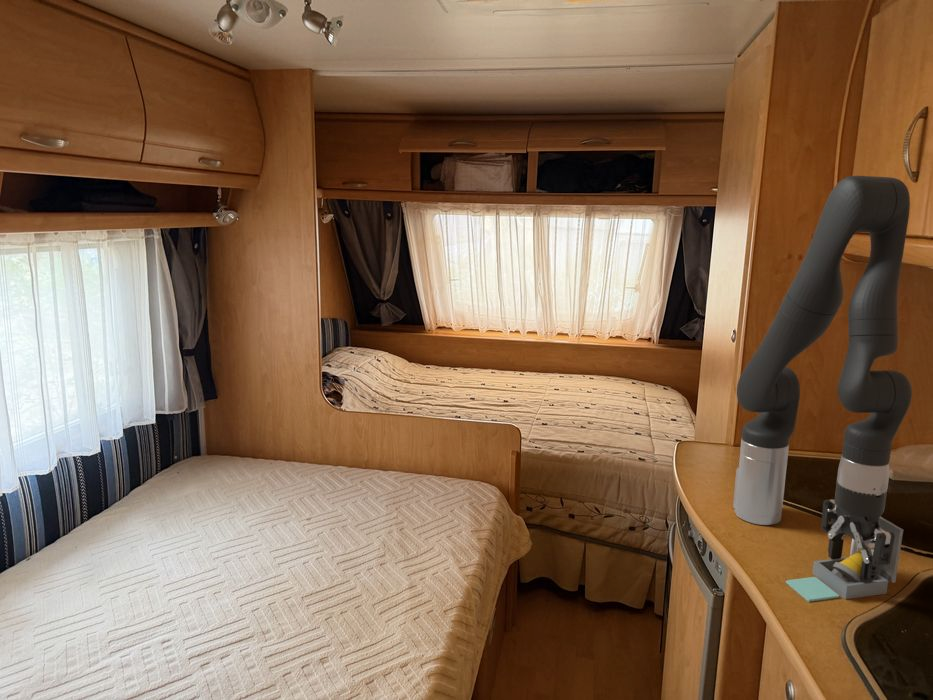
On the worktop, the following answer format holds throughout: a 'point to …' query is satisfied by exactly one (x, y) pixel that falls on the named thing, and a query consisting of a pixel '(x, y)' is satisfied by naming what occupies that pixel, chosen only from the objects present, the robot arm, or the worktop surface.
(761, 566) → the worktop surface
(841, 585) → the case
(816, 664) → the worktop surface
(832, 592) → the mat
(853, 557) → the drill bit
